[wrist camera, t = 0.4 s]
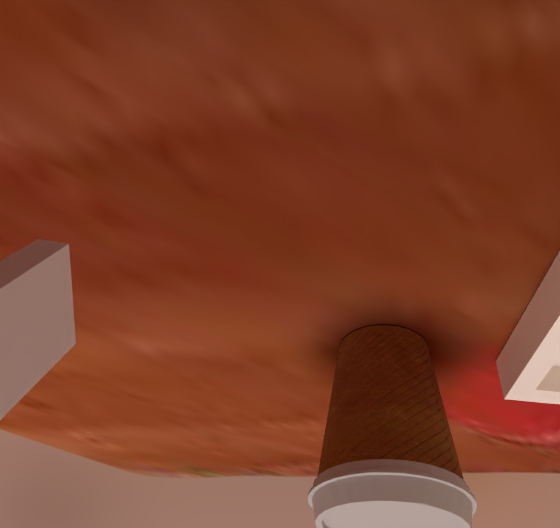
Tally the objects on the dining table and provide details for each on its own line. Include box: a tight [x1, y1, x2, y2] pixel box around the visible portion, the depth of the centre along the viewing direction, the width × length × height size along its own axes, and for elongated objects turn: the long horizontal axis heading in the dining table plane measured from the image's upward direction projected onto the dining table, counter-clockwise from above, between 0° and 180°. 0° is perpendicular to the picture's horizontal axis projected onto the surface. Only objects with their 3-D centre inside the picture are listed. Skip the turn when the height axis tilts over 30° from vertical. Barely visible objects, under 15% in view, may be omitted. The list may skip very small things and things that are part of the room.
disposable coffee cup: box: [308, 325, 477, 528], centre depth 34 cm, size 10×10×12 cm
